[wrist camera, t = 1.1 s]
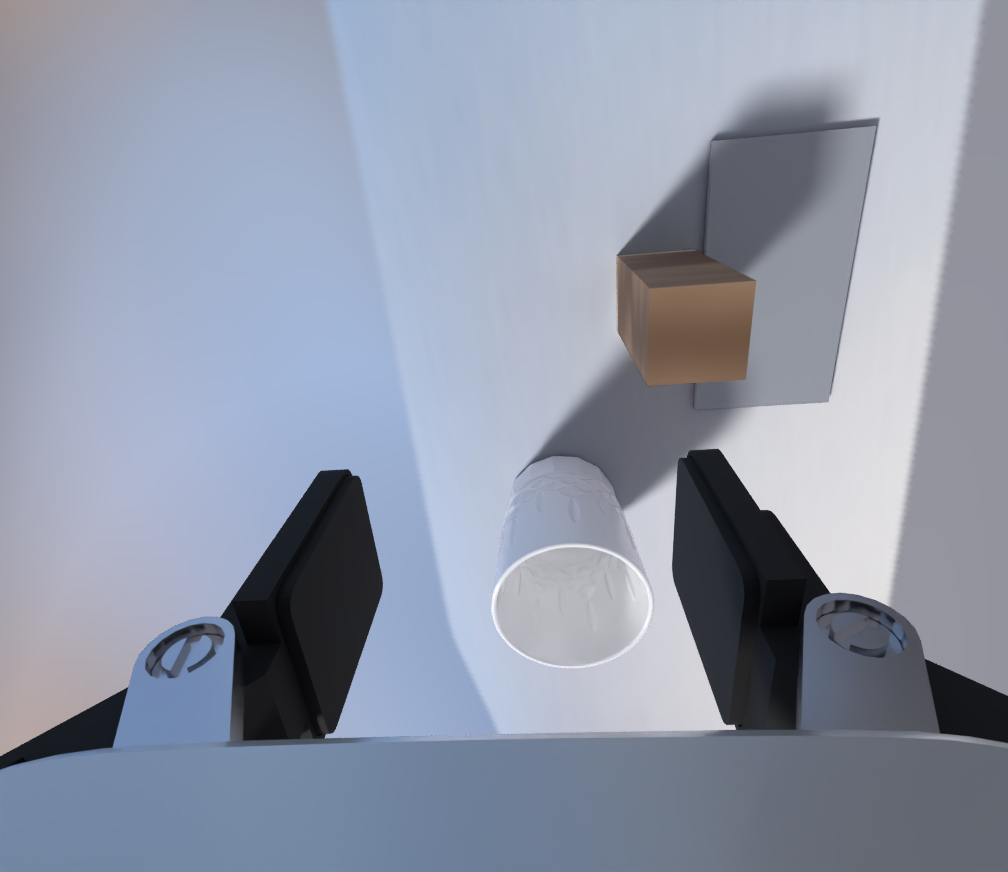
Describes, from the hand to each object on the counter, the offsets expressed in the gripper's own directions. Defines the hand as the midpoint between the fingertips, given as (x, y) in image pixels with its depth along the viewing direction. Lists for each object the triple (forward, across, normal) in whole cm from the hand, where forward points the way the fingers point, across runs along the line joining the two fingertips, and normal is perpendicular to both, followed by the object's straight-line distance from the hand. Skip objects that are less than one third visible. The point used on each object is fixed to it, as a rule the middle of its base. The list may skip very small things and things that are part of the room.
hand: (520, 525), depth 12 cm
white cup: (+22, -2, +13) cm, 25 cm away
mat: (+22, -13, 0) cm, 25 cm away
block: (+22, -7, 0) cm, 23 cm away
